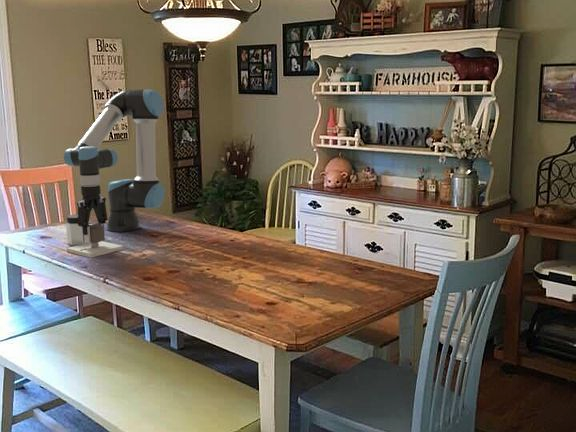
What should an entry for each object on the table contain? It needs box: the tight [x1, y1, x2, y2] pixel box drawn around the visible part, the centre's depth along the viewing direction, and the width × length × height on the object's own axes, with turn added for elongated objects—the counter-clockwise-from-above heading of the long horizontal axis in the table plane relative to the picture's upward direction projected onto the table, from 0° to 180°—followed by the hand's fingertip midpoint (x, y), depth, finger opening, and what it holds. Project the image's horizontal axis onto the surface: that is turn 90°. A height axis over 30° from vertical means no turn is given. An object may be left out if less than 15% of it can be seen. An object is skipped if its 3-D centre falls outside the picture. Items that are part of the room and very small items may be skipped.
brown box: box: [82, 221, 106, 243], centre depth 268 cm, size 7×7×8 cm
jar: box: [65, 213, 87, 246], centre depth 281 cm, size 9×8×12 cm
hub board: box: [66, 241, 124, 258], centre depth 269 cm, size 16×16×7 cm
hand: (94, 240), depth 268 cm, fingers closed on brown box, 6 cm apart
